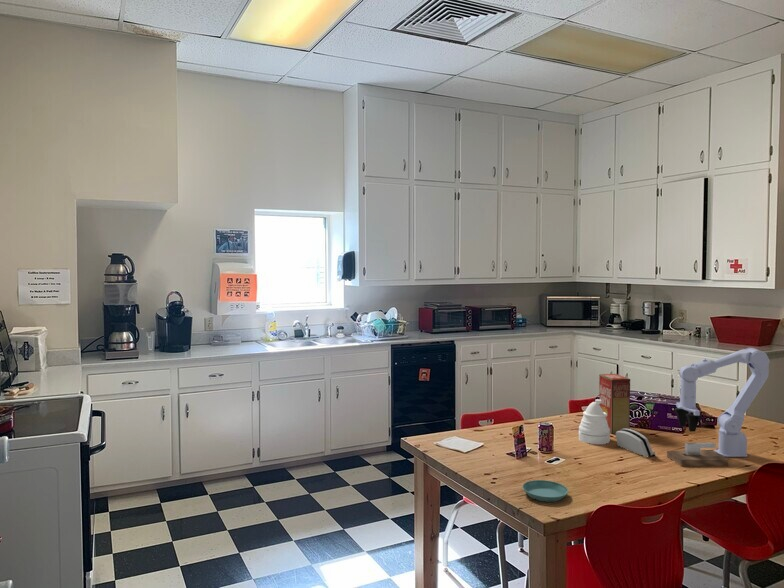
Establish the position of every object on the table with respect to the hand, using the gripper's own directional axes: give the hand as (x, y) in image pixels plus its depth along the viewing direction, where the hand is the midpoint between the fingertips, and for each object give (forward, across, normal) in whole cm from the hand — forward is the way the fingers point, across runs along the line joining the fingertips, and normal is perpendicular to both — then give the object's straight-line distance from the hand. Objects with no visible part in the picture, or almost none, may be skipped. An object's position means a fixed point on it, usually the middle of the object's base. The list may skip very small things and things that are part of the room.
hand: (687, 428), depth 239 cm
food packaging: (+10, -32, -17) cm, 37 cm away
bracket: (+9, +12, -1) cm, 15 cm away
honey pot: (+10, -17, -32) cm, 38 cm away
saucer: (+10, +43, -71) cm, 84 cm away
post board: (+9, +12, -2) cm, 15 cm away
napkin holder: (+10, -1, -22) cm, 24 cm away
